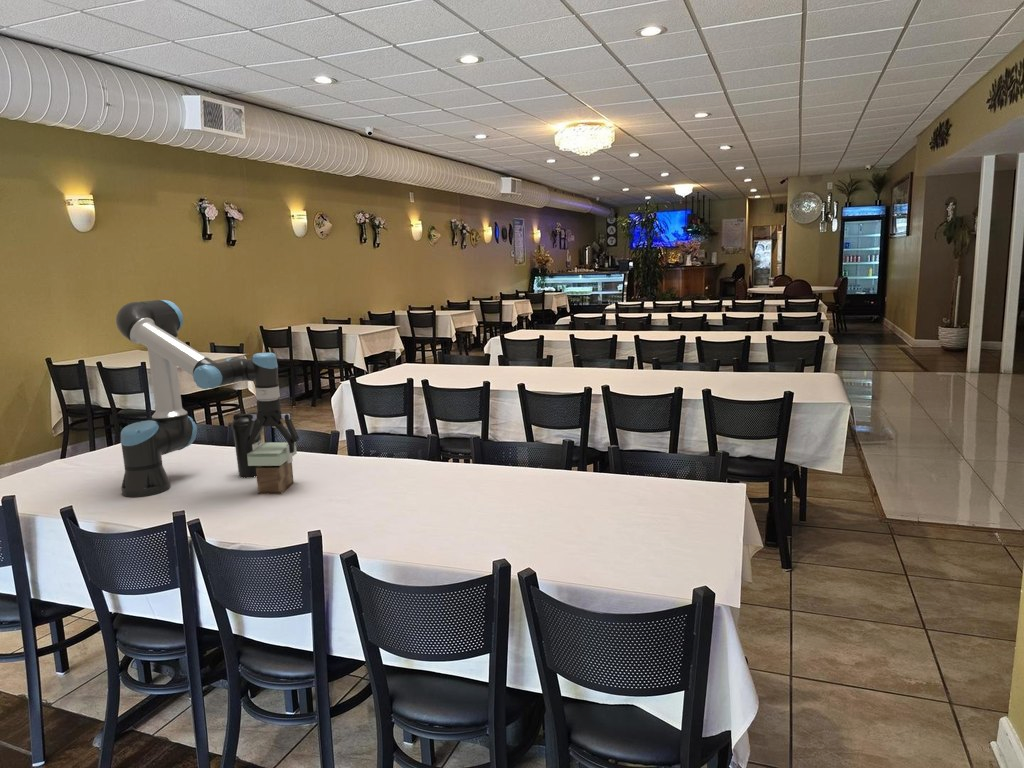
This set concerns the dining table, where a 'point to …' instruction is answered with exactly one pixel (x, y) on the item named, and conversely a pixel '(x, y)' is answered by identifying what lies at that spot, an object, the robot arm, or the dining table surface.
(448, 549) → the dining table surface
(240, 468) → the water bottle
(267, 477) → the box
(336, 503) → the dining table surface
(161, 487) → the robot arm
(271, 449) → the lid
